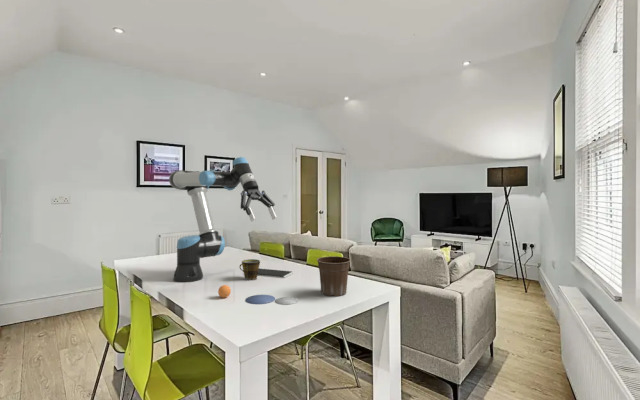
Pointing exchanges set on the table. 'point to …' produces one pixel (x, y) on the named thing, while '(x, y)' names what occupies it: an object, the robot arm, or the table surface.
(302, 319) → the table surface
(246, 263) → the ceramic cup
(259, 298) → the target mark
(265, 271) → the dark grey flat slab
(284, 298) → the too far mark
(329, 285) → the plant pot
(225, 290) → the ball
